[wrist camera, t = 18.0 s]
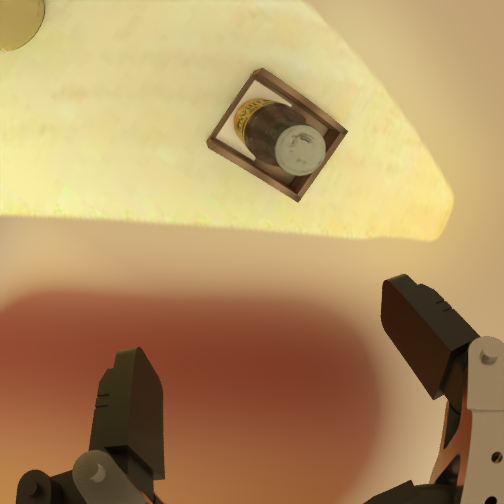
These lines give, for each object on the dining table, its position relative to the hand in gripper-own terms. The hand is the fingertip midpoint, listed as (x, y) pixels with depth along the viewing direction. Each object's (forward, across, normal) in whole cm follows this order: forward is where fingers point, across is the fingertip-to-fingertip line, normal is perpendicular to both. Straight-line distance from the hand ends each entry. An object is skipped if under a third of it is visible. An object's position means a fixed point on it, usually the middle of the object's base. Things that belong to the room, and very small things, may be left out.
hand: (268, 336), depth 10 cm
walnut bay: (+36, -9, 0) cm, 37 cm away
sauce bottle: (+35, -7, -2) cm, 36 cm away
